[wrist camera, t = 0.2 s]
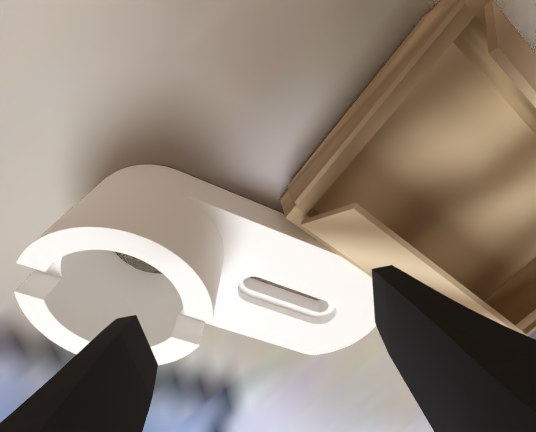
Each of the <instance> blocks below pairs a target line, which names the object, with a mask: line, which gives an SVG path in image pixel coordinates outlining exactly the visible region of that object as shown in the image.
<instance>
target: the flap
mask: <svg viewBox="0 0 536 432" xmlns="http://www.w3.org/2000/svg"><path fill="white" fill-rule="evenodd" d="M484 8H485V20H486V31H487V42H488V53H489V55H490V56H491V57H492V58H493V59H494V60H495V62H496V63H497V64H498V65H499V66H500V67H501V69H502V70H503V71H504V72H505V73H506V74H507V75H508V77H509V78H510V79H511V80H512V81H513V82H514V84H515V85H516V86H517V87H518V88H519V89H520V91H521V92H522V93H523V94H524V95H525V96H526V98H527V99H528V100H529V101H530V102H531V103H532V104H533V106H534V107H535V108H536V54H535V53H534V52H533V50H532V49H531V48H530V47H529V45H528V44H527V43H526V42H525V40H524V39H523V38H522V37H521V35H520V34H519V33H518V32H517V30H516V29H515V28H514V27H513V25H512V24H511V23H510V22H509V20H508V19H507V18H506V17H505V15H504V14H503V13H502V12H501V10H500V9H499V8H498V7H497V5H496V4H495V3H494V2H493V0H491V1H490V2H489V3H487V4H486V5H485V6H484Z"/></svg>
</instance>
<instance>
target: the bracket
mask: <svg viewBox="0 0 536 432" xmlns="http://www.w3.org/2000/svg"><path fill="white" fill-rule="evenodd" d="M114 251H115V252H120V253H124V254H127V255H130V256H133V257H135V258H138V259H140V260H142V261H144V262H146V263H148V264H150V265H151V266H153V267H155V268H156V269H157V270H159V271H160V272H161V273H162V274H159V273H149V272H145V271H142V270H139V269H136V268H134V267H132V266H130V265H129V264H127V263H126V262H124V261H123V260H122V259H121V258H120V257H119V256H118V255H117V254H116V253H115V252H114ZM17 263H18V264H21V265H24V266H28V267H31V268H34V269H35V271H34V272H33V273H32V274H31V275H30V276H29V277H28V278H27V279H26V280H25V281H24V282H23V283H22V284H21V285H20V286H19V287H18V288H17V289H16V290H15V291H14V293H15V296H16V299H17V301H18V303H19V306H20V308H21V309H22V311H23V312H24V314H25V315H26V317H27V318H28V319H29V321H30V322H31V323H32V324H33V325H34V326H35V327H36V328H37V329H38V330H39V331H40V332H41V333H42V334H44V335H45V336H46V337H47V338H49V339H50V340H51V341H53V342H54V343H56V344H57V345H59V346H61V347H63V348H64V349H66V350H68V351H70V352H72V353H74V354H78V353H79V352H80V351H81V350H82V349H83V348H84V347H85V346H86V345H87V344H88V343H90V342H91V341H92V340H93V339H94V338H95V337H96V336H97V335H98V334H99V333H100V332H101V331H102V330H104V329H105V328H106V327H107V326H108V325H109V324H110V323H112V322H113V321H114V320H115V319H117V318H122V317H127V316H132V315H136V316H137V318H138V320H139V322H140V325H141V327H142V329H143V331H144V334H145V336H146V338H147V341H148V343H149V345H150V347H151V350H152V352H153V354H154V356H155V359H156V361H157V363H158V365H162V364H166V363H170V362H173V361H176V360H178V359H180V358H183V357H184V356H186V355H188V354H190V353H191V352H192V351H194V350H195V349H196V348H197V347H198V346H200V342H201V338H202V333H203V329H204V324H205V323H207V324H210V325H213V326H216V327H220V328H223V329H226V330H229V331H233V332H236V333H239V334H243V335H246V336H249V337H252V338H256V339H259V340H262V341H265V342H269V343H272V344H275V345H278V346H282V347H285V348H288V349H291V350H295V351H298V352H301V353H304V354H309V355H318V354H324V353H329V352H333V351H336V350H339V349H342V348H344V347H347V346H349V345H351V344H353V343H355V342H357V341H358V340H360V339H361V338H363V337H364V336H366V335H367V334H368V333H369V332H370V331H371V330H372V329H373V328H374V327H375V326H376V323H375V315H374V299H373V284H372V277H370V276H369V275H367V274H366V273H364V272H363V271H361V270H360V269H359V268H357V267H356V266H354V265H353V264H351V263H350V262H348V261H347V260H346V259H344V258H343V257H341V256H340V255H338V254H337V253H335V252H334V251H332V250H331V249H330V248H328V247H327V246H325V245H324V244H322V243H321V242H319V241H318V240H317V239H315V238H314V237H312V236H311V235H309V234H308V233H306V232H305V231H304V230H302V229H301V228H299V227H298V226H296V225H295V224H293V223H292V222H291V221H289V220H288V219H286V218H285V215H284V214H283V213H281V212H278V211H276V210H273V209H271V208H268V207H266V206H264V205H261V204H259V203H256V202H254V201H251V200H249V199H247V198H244V197H242V196H239V195H237V194H234V193H232V192H229V191H227V190H225V189H222V188H220V187H217V186H215V185H212V184H210V183H207V182H205V181H203V180H200V179H198V178H195V177H193V176H190V175H188V174H186V173H183V172H181V171H178V170H176V169H173V168H169V167H165V166H160V165H151V164H145V165H134V166H130V167H126V168H123V169H120V170H118V171H116V172H114V173H112V174H111V175H109V176H108V177H106V178H105V179H104V180H103V181H102V182H100V183H99V184H98V185H97V186H96V187H95V188H94V189H93V190H91V191H90V192H89V193H88V194H87V195H86V196H85V197H84V198H82V199H81V200H80V201H79V202H78V203H77V204H76V205H75V206H73V207H72V208H71V209H70V210H69V211H68V212H67V213H66V214H64V215H63V216H62V217H61V218H60V219H59V220H58V221H57V222H55V223H54V224H53V225H52V226H51V227H50V228H49V229H48V230H46V231H45V232H44V233H43V234H42V235H41V236H40V237H39V238H37V239H36V240H35V241H34V242H33V243H32V244H31V245H30V246H28V247H27V248H26V249H25V251H24V252H23V253H22V254H21V256H20V257H19V259H18V261H17ZM250 277H259V278H262V279H265V280H268V281H270V282H273V283H276V284H279V285H282V286H285V287H287V288H290V289H293V290H296V291H299V292H301V293H304V294H307V295H310V296H313V297H316V298H318V299H320V300H313V299H310V298H307V297H304V296H302V295H299V294H296V293H293V292H290V291H287V290H284V289H281V288H279V287H276V286H273V285H270V284H267V283H264V282H261V281H259V280H256V279H253V278H250Z"/></svg>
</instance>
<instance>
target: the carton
mask: <svg viewBox="0 0 536 432" xmlns="http://www.w3.org/2000/svg"><path fill="white" fill-rule="evenodd" d="M490 1H491V0H441V1H439V2H437V4H436V5H435V6H434V7H433V9H432V10H431V11H430V12H429V13H427V14H425V15H424V16H423V17H422V19H421V20H420V21H419V22H418V24H417V25H416V26H415V27H414V29H413V30H412V31H411V32H410V34H409V35H408V36H407V37H406V39H405V40H404V41H403V42H402V44H401V45H400V46H399V47H398V49H397V50H396V51H395V52H394V54H393V55H392V56H391V57H390V59H389V60H388V61H387V62H386V64H385V65H384V66H383V67H382V69H381V70H380V71H379V72H378V74H377V75H376V76H375V77H374V79H373V80H372V81H371V82H370V84H369V85H368V86H367V87H366V89H365V90H364V91H363V92H362V94H361V95H360V96H359V97H358V99H357V100H356V101H355V102H354V104H353V105H352V106H351V107H350V109H349V110H348V111H347V112H346V114H345V115H344V116H343V117H342V119H341V120H340V121H339V122H338V124H337V125H336V126H335V127H334V128H333V130H332V131H331V132H330V133H329V135H328V136H327V137H326V138H325V140H324V141H323V142H322V143H321V145H320V146H319V147H318V148H317V150H316V151H315V152H314V153H313V155H312V156H311V157H310V158H309V160H308V161H307V162H306V163H305V165H304V166H303V167H302V168H301V170H300V171H299V172H298V173H297V175H296V176H295V177H294V178H293V180H292V181H291V182H290V183H289V185H288V186H287V187H288V189H287V190H286V192H285V193H284V194H283V195H282V197H281V198H280V202H281V206H282V209H283V212H284V215H285V218H286V219H288V220H289V221H291V222H292V223H293V224H295V225H296V226H298V227H299V228H301V229H302V230H304V231H305V232H306V233H308V234H309V235H311V236H312V237H314V238H315V239H317V240H318V241H319V242H321V243H322V244H324V245H325V246H327V247H328V248H330V249H331V250H332V251H334V252H335V253H337V254H338V255H340V256H341V257H343V258H344V259H346V260H347V261H348V262H350V263H351V264H353V265H354V266H356V267H357V268H359V269H360V270H361V271H363V272H364V273H366V274H367V275H369V276H370V277H372V274H371V273H369V272H368V271H366V270H365V269H363V268H362V267H360V266H359V265H358V264H356V263H355V262H353V261H352V260H350V259H349V258H348V257H346V256H345V255H343V254H342V253H340V252H339V251H337V250H336V249H335V248H333V247H332V246H330V245H329V244H327V243H326V242H325V241H323V240H322V239H320V238H319V237H317V236H316V235H314V234H313V233H312V232H310V231H309V230H307V229H306V228H304V227H303V226H301V223H302V220H304V219H307V218H310V217H313V216H316V215H319V214H322V213H325V212H328V211H331V210H334V209H337V208H340V207H343V206H346V205H350V204H353V203H357V204H358V205H360V206H361V207H362V208H364V209H365V210H366V211H367V212H369V213H370V214H371V215H373V216H374V217H375V218H376V219H378V220H379V221H380V222H382V223H383V224H384V225H386V226H387V227H388V228H389V229H391V230H392V231H393V232H395V233H396V234H397V235H398V236H400V237H401V238H402V239H404V240H405V241H406V242H408V243H409V244H410V245H411V246H413V247H414V248H415V249H417V250H418V251H419V252H420V253H422V254H423V255H424V256H426V257H427V258H428V259H430V260H431V261H432V262H433V263H435V264H436V265H437V266H439V267H440V268H441V269H442V270H444V271H445V272H446V273H448V274H449V275H450V276H452V277H453V278H454V279H455V280H457V281H458V282H459V283H461V284H462V285H463V286H464V287H466V288H467V289H468V290H470V291H471V292H472V293H474V294H475V295H476V296H477V297H479V298H480V299H481V300H483V301H484V302H485V303H486V304H488V305H489V306H490V307H492V308H493V309H494V310H496V311H497V312H498V313H499V314H501V315H502V316H503V317H505V318H506V319H507V320H508V321H510V322H511V323H512V324H514V325H515V326H516V327H518V328H519V329H520V330H521V331H523V332H524V333H525V334H527V335H530V334H531V333H532V332H534V331H535V330H536V108H535V107H534V106H533V104H532V103H531V102H530V101H529V100H528V99H527V98H526V96H525V95H524V94H523V93H522V92H521V91H520V89H519V88H518V87H517V86H516V85H515V84H514V82H513V81H512V80H511V79H510V78H509V77H508V75H507V74H506V73H505V72H504V71H503V70H502V69H501V67H500V66H499V65H498V64H497V63H496V62H495V60H494V59H493V58H492V57H491V56H490V55H489V53H488V42H487V31H486V20H485V8H484V6H485V5H486V4H487V3H489V2H490Z"/></svg>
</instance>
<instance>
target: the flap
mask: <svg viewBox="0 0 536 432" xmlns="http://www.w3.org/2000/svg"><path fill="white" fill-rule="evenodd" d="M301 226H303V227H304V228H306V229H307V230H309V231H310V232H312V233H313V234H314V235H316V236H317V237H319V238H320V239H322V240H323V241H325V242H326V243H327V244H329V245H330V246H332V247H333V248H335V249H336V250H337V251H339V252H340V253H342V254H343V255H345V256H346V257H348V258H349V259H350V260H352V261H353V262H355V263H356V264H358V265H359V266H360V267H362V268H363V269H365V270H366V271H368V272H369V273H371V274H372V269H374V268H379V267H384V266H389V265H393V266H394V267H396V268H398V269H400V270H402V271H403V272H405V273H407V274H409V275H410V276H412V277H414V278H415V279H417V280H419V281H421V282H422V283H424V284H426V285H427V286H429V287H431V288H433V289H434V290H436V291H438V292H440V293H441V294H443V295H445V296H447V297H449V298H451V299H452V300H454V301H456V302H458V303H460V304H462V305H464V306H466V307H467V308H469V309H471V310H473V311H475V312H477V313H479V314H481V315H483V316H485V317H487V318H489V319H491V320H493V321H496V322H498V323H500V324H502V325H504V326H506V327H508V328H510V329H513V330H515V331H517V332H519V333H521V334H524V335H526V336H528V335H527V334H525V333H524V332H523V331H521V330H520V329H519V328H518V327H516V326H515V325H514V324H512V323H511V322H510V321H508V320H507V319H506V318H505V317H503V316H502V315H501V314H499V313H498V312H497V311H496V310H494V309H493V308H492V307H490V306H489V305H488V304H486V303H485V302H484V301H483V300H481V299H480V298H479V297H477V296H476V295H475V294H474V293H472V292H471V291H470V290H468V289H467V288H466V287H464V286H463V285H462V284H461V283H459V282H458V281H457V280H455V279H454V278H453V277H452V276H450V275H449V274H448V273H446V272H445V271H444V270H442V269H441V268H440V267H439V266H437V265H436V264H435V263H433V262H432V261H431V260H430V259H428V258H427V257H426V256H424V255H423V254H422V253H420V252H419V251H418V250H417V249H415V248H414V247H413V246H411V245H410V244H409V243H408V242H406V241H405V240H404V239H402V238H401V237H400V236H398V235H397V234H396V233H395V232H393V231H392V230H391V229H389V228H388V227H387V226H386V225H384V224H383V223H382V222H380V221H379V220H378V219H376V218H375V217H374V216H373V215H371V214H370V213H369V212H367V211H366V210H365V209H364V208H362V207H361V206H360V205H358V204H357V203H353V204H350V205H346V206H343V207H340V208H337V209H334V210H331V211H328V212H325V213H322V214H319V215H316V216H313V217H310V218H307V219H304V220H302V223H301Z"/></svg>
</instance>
